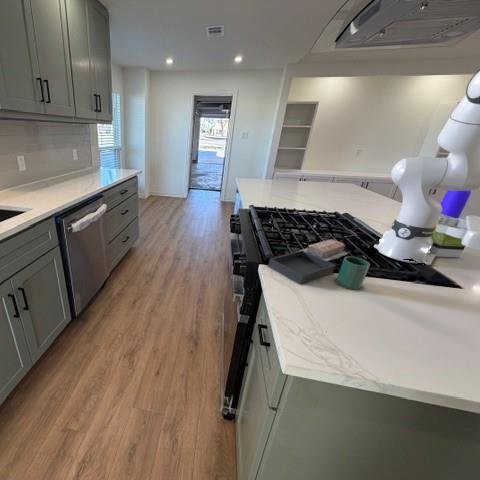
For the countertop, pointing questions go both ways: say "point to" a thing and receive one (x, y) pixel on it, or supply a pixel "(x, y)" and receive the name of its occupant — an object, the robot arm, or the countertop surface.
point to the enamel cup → (352, 272)
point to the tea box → (446, 243)
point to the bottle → (454, 202)
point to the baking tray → (301, 266)
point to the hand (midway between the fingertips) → (437, 223)
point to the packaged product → (327, 250)
